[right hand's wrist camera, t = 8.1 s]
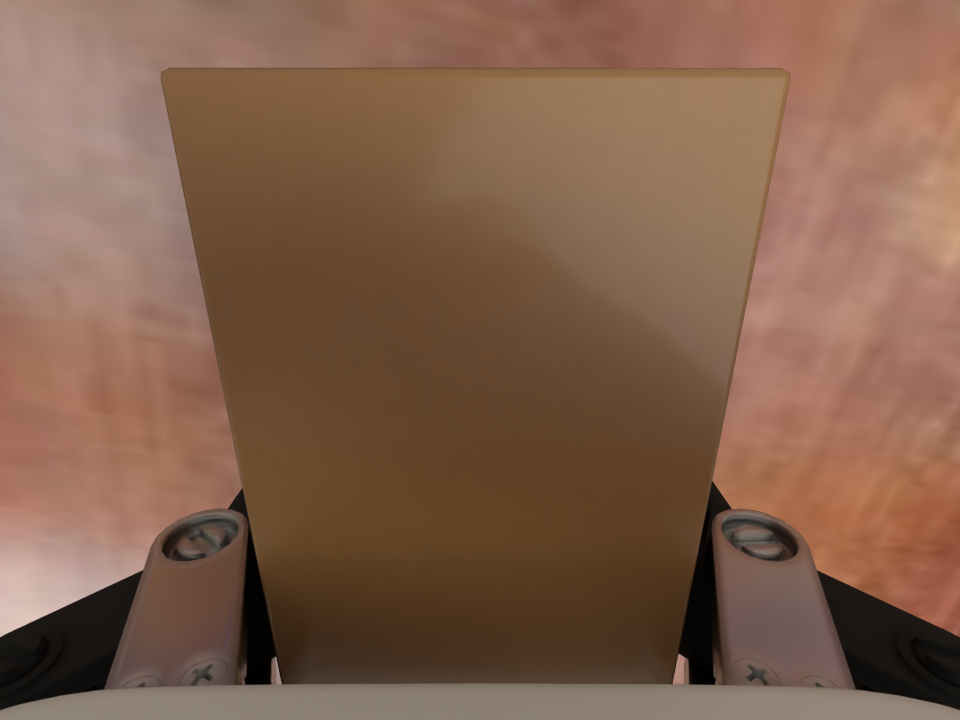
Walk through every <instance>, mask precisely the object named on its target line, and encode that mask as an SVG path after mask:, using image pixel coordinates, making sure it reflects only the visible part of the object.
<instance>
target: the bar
mask: <svg viewBox="0 0 960 720" xmlns="http://www.w3.org/2000/svg"><path fill="white" fill-rule="evenodd" d="M161 82H162V87H163V92H164V97H165V102H166V107H167V112H168V117H169V122H170V127H171V132H172V137H173V142H174V147H175V152H176V157H177V162H178V167H179V172H180V177H181V182H182V187H183V192H184V197H185V202H186V207H187V212H188V217H189V222H190V227H191V232H192V237H193V242H194V247H195V252H196V257H197V262H198V267H199V272H200V277H201V282H202V287H203V292H204V297H205V302H206V307H207V312H208V317H209V322H210V327H211V332H212V337H213V342H214V347H215V352H216V357H217V362H218V367H219V372H220V377H221V382H222V387H223V392H224V397H225V402H226V407H227V412H228V417H229V422H230V427H231V432H232V437H233V442H234V447H235V452H236V457H237V462H238V467H239V472H240V477H241V482H242V487H243V492H244V497H245V502H246V507H247V512H248V517H249V522H250V527H251V532H252V537H253V542H254V547H255V552H256V557H257V562H258V567H259V572H260V577H261V582H262V587H263V592H264V597H265V602H266V607H267V612H268V617H269V622H270V627H271V632H272V637H273V642H274V647H275V652H276V657H277V662H278V667H279V672H280V677H281V682H282V684H462V683H498V684H672V683H673V678H674V673H675V668H676V663H677V657H678V652H679V647H680V642H681V637H682V632H683V627H684V622H685V616H686V611H687V606H688V601H689V596H690V591H691V586H692V581H693V575H694V570H695V565H696V560H697V555H698V550H699V545H700V540H701V534H702V529H703V524H704V519H705V514H706V509H707V504H708V499H709V494H710V488H711V483H712V478H713V473H714V468H715V463H716V458H717V453H718V447H719V442H720V437H721V432H722V427H723V422H724V417H725V412H726V406H727V401H728V396H729V391H730V386H731V381H732V376H733V371H734V365H735V360H736V355H737V350H738V345H739V340H740V335H741V330H742V324H743V319H744V314H745V309H746V304H747V299H748V294H749V289H750V283H751V278H752V273H753V268H754V263H755V258H756V253H757V248H758V243H759V237H760V232H761V227H762V222H763V217H764V212H765V207H766V202H767V196H768V191H769V186H770V181H771V176H772V171H773V166H774V161H775V155H776V150H777V145H778V140H779V135H780V130H781V125H782V120H783V114H784V109H785V104H786V99H787V94H788V89H789V84H790V72H788V71H786V70H785V69H783V68H168V69H166V70H164V71H162V72H161Z"/></svg>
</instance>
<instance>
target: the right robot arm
mask: <svg viewBox="0 0 960 720" xmlns="http://www.w3.org/2000/svg"><path fill="white" fill-rule="evenodd" d="M678 654H681V655H682V656H684V657H685V662H684V685H678V684H498V683H462V684H282V685H276V662H275V657H276V652H275V647H274V642H273V637H272V632H271V627H270V622H269V617H268V612H267V607H266V602H265V597H264V592H263V587H262V582H261V577H260V572H259V567H258V562H257V557H256V552H255V547H254V542H253V537H252V532H251V527H250V522H249V517H248V512H247V507H246V502H245V497H244V492H243V488H242V489H241V491H240V492H239V494H238V495H237V496H236V498H235V499H234V501H233V502H232V504H231V505H230V507H229V508H228V509H212V510H205V511H201V512H197V513H194V514H191V515H189V516H186V517H184V518H182V519H179V520H177V521H176V522H174V523H173V524H171V525H170V526H168V527H167V528H165V529H164V530H163V531H162V532H161V533H160V534H159V535H158V536H157V537H156V539H155V541H154V542H153V544H152V546H151V548H150V551H149V554H148V557H147V561H146V564H145V567H144V570H142V571H140V572H138V573H136V574H134V575H132V576H130V577H127V578H125V579H123V580H121V581H119V582H117V583H115V584H112V585H110V586H108V587H106V588H104V589H102V590H100V591H97V592H95V593H93V594H91V595H89V596H87V597H85V598H82V599H80V600H78V601H76V602H74V603H72V604H70V605H67V606H65V607H63V608H61V609H59V610H57V611H55V612H52V613H50V614H48V615H46V616H44V617H42V618H40V619H37V620H35V621H33V622H31V623H29V624H27V625H24V626H22V627H20V628H18V629H16V630H14V631H12V632H9V633H7V634H5V635H4V636H2V637H0V720H960V637H958V636H956V635H954V634H952V633H950V632H948V631H946V630H944V629H942V628H940V627H937V626H935V625H933V624H931V623H929V622H927V621H924V620H922V619H920V618H918V617H916V616H914V615H912V614H909V613H907V612H905V611H903V610H901V609H899V608H897V607H894V606H892V605H890V604H888V603H886V602H884V601H882V600H879V599H877V598H875V597H873V596H871V595H869V594H867V593H864V592H862V591H860V590H858V589H856V588H854V587H852V586H849V585H847V584H845V583H843V582H841V581H839V580H836V579H834V578H832V577H830V576H828V575H826V574H824V573H821V572H819V571H817V570H816V567H815V564H814V561H813V557H812V554H811V551H810V548H809V546H808V544H807V542H806V541H805V539H804V537H803V536H802V535H801V534H800V533H799V532H798V531H797V530H796V529H795V528H793V527H792V526H790V525H789V524H787V523H786V522H784V521H783V520H781V519H778V518H776V517H774V516H771V515H769V514H766V513H763V512H759V511H755V510H748V509H731V507H730V506H729V504H728V503H727V501H726V500H725V499H724V497H723V496H722V494H721V493H720V491H719V490H718V489H717V487H716V486H715V484H714V483H713V481H712V483H711V488H710V494H709V499H708V504H707V509H706V514H705V519H704V524H703V529H702V534H701V540H700V545H699V550H698V555H697V560H696V565H695V570H694V575H693V581H692V586H691V591H690V596H689V601H688V606H687V611H686V616H685V622H684V627H683V632H682V637H681V642H680V647H679V652H678Z"/></svg>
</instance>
